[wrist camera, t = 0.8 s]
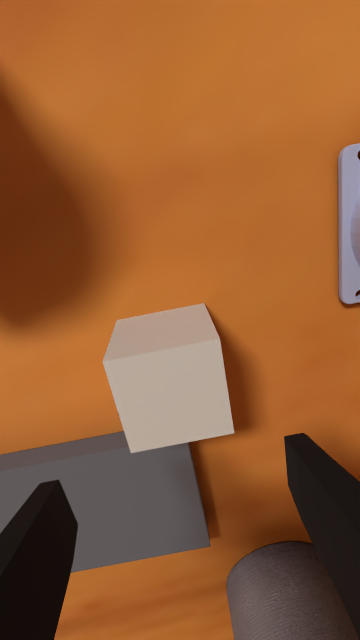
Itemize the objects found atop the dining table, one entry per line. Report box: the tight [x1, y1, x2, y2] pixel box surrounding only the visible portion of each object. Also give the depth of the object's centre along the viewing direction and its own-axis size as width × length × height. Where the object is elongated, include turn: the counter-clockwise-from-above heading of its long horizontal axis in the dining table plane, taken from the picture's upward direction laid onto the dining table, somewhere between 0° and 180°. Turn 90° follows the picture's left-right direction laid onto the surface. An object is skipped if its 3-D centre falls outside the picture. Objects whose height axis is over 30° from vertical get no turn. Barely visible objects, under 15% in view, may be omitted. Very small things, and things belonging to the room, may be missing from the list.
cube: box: [103, 303, 234, 453], centre depth 17 cm, size 5×5×5 cm
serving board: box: [0, 431, 211, 573], centre depth 22 cm, size 14×10×2 cm
